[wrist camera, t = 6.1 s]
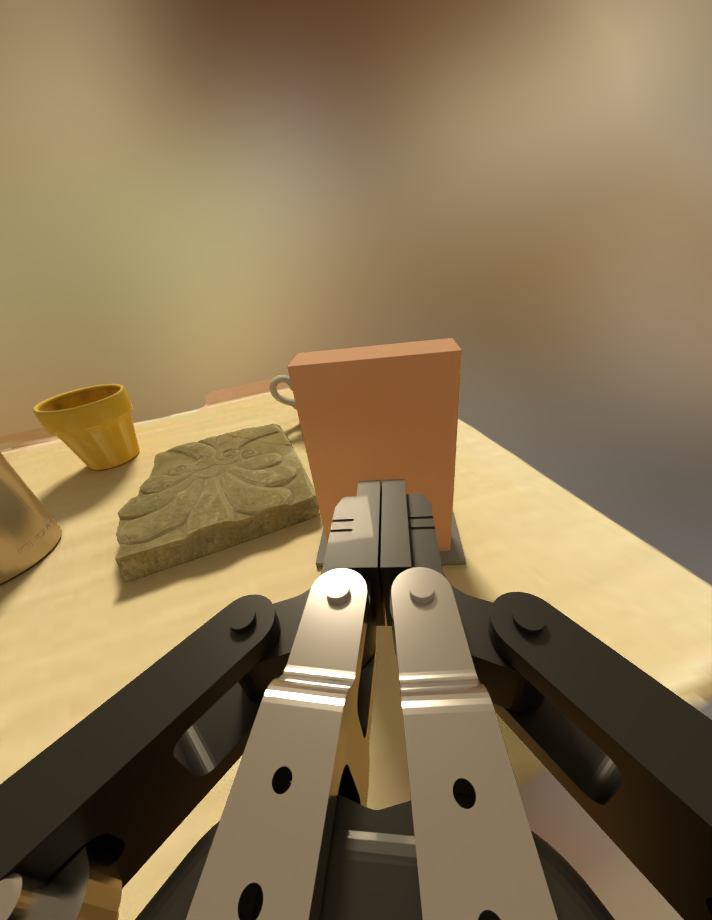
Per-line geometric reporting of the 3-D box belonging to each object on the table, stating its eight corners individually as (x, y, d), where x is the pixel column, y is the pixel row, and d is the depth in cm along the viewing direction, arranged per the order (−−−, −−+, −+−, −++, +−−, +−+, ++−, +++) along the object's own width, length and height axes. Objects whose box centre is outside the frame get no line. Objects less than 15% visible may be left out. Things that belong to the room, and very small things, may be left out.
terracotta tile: (329, 553, 28) (287, 366, 19) (333, 527, 30) (298, 352, 22) (450, 550, 27) (461, 350, 18) (444, 524, 29) (451, 337, 21)
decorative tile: (283, 438, 49) (278, 416, 47) (323, 518, 33) (317, 490, 31) (148, 476, 44) (136, 453, 42) (118, 591, 28) (96, 563, 26)
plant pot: (168, 439, 52) (139, 380, 47) (121, 477, 44) (81, 409, 39) (111, 442, 54) (78, 385, 49) (56, 479, 45) (9, 414, 40)
